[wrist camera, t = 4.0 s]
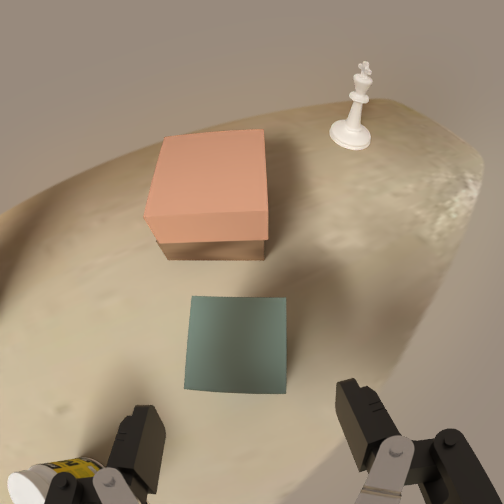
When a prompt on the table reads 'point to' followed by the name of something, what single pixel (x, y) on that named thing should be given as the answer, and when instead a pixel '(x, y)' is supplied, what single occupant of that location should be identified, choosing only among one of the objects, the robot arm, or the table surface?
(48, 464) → the supplement bottle
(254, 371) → the green pillar block
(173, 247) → the walnut base block
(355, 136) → the chess piece
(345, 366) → the table surface
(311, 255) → the table surface
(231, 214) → the terracotta top block
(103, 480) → the robot arm
